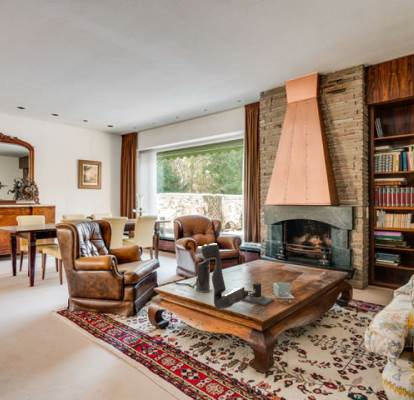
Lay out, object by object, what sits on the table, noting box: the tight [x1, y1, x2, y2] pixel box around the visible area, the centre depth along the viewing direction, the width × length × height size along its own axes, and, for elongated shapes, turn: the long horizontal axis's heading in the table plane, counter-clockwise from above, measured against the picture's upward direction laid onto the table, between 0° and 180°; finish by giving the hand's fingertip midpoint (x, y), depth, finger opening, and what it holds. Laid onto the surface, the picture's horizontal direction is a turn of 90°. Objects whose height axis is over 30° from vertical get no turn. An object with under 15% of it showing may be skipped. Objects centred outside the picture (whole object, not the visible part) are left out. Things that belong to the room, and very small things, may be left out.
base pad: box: [241, 294, 275, 307], centre depth 213 cm, size 18×14×3 cm
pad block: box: [252, 282, 262, 298], centre depth 213 cm, size 4×5×10 cm
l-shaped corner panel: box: [273, 282, 296, 299], centre depth 224 cm, size 12×12×8 cm
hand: (249, 289), depth 205 cm, fingers open, 8 cm apart
